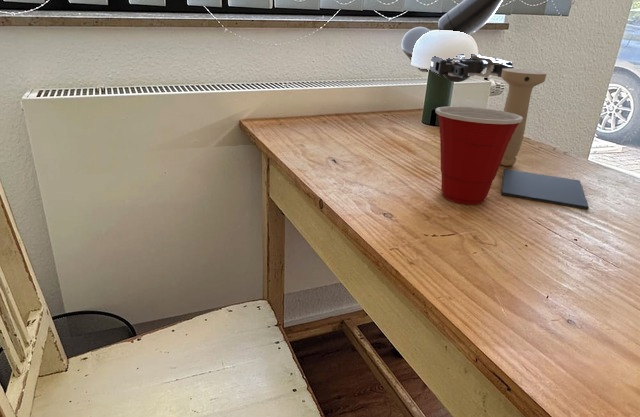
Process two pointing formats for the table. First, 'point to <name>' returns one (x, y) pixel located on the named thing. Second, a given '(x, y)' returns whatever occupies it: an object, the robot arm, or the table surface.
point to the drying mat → (543, 188)
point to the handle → (518, 104)
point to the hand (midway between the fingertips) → (488, 72)
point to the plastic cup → (472, 150)
